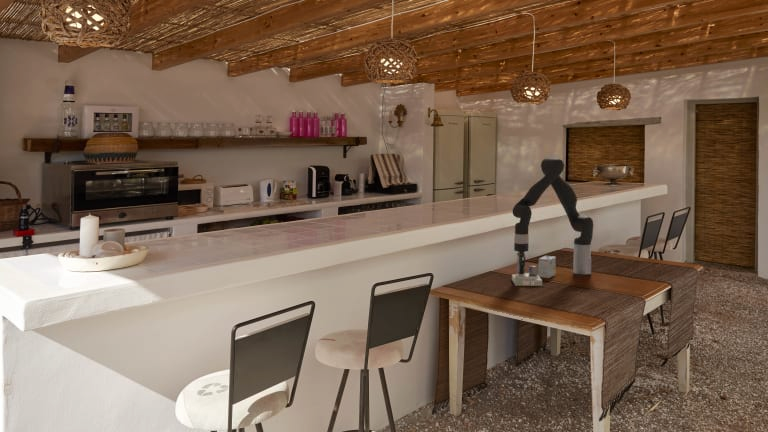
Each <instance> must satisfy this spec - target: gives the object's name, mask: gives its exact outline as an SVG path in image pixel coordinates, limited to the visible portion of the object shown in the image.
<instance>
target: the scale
mask: <svg viewBox="0 0 768 432" xmlns="http://www.w3.org/2000/svg"><path fill="white" fill-rule="evenodd" d="M511 281H512V282H513V284H514V286H515V287H516V286H517V287H518V286H521V287H522V286H523V287H527V286H528V287H529V286H530V287H542V286H543V279H542V277H539V274H537V276H529V272H525V274H524V275H519V274H517V273H515V274H511Z"/></svg>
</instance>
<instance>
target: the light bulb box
mask: <svg viewBox="0 0 768 432" xmlns="http://www.w3.org/2000/svg"><path fill="white" fill-rule="evenodd" d="M556 259H557V256H551V255H543V256H542V257H540V258H538V276H539V277H540V278H544V279H545V278H546V279H550V278H553V277H554V276H556V269H557V268H556V266H557V265H556V262H557V261H556Z"/></svg>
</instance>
